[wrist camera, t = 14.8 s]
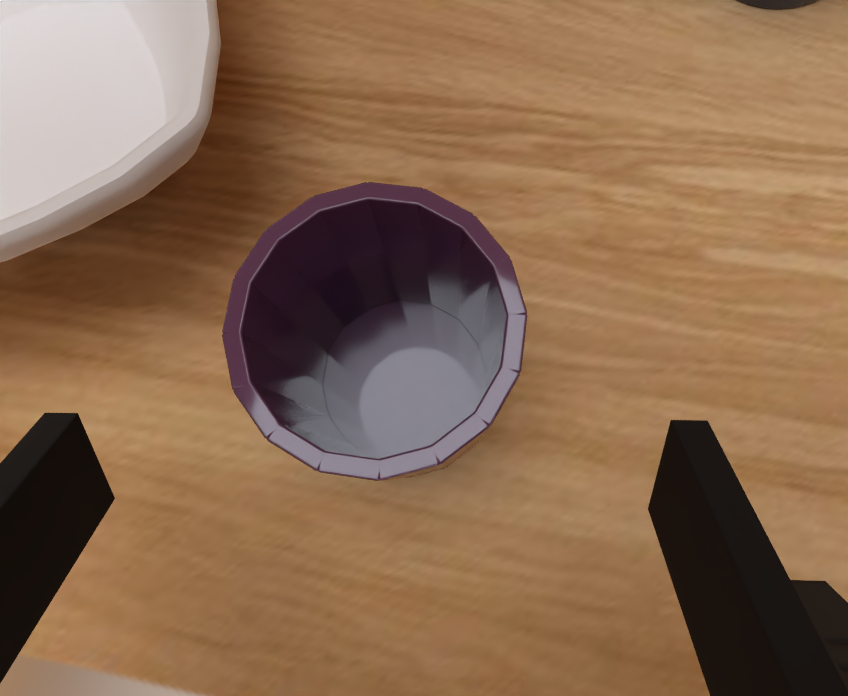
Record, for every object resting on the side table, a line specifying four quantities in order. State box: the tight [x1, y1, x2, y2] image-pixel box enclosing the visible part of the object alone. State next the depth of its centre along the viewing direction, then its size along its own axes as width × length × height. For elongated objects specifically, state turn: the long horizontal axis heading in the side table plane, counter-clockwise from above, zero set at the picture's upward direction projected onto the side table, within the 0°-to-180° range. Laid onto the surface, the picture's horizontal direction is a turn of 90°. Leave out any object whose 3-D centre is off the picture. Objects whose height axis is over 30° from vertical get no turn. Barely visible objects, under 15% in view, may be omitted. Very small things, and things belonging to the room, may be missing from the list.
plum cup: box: [222, 182, 527, 481], centre depth 20 cm, size 7×7×10 cm
